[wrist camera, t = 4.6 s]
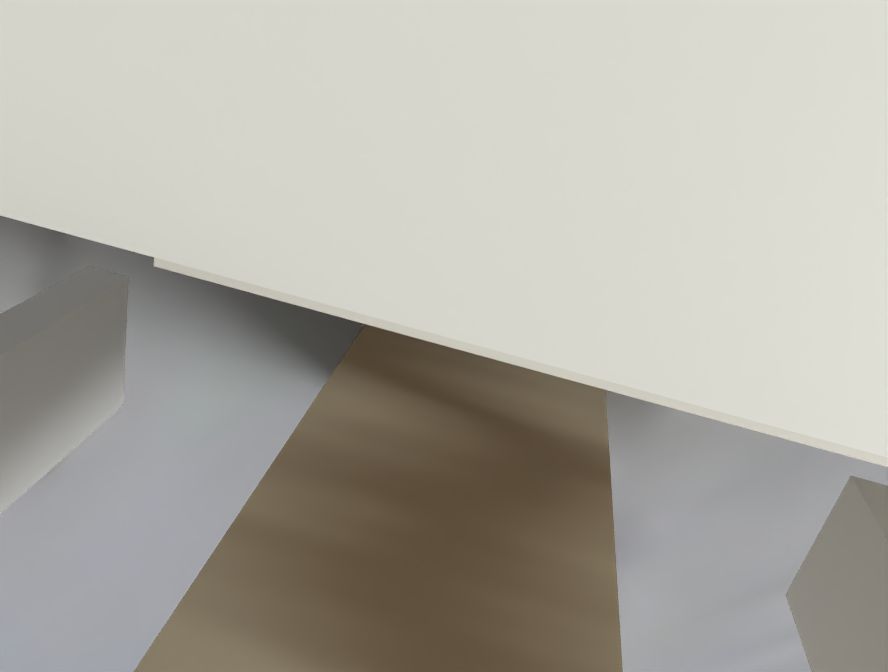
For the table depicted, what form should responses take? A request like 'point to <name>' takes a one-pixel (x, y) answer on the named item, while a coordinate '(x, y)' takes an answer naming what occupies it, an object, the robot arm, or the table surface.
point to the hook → (418, 529)
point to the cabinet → (497, 179)
